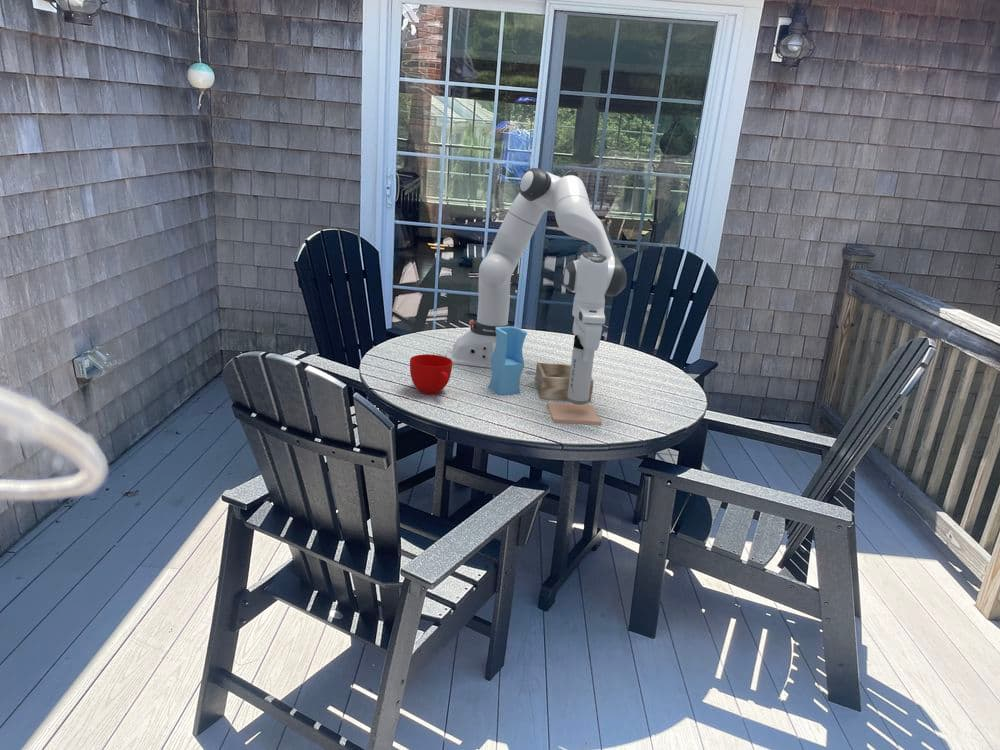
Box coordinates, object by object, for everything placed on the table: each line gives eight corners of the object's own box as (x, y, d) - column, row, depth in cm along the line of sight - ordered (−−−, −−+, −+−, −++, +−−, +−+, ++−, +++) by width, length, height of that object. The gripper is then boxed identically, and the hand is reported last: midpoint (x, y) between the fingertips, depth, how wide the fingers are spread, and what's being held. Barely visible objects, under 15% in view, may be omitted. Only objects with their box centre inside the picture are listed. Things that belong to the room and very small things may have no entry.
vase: (499, 395, 227) (505, 333, 221) (488, 387, 233) (493, 326, 227) (521, 393, 230) (527, 332, 224) (509, 385, 237) (515, 326, 231)
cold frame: (540, 398, 227) (543, 377, 225) (534, 382, 242) (536, 362, 240) (590, 401, 229) (593, 380, 227) (581, 385, 244) (584, 365, 242)
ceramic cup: (425, 404, 213) (427, 372, 210) (401, 386, 226) (402, 355, 223) (464, 400, 219) (466, 368, 216) (438, 382, 233) (440, 352, 230)
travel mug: (586, 398, 218) (594, 333, 212) (589, 405, 212) (597, 339, 206) (566, 396, 218) (573, 332, 212) (567, 403, 212) (575, 337, 206)
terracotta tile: (553, 422, 208) (553, 419, 208) (546, 405, 222) (547, 402, 221) (601, 425, 210) (601, 421, 209) (591, 408, 223) (592, 404, 223)
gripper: (570, 302, 216) (565, 346, 220) (584, 318, 196) (578, 367, 201) (591, 303, 217) (585, 348, 221) (607, 319, 197) (600, 368, 201)
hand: (582, 357), depth 210 cm, fingers closed on travel mug, 6 cm apart
